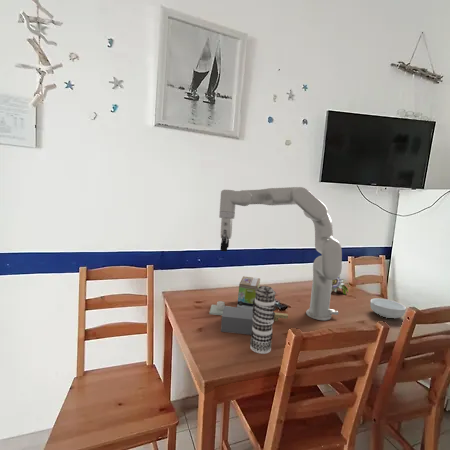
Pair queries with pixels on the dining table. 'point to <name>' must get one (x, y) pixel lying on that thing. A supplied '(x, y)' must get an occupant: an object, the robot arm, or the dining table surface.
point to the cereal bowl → (387, 308)
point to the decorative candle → (263, 320)
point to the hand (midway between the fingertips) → (224, 249)
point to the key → (280, 316)
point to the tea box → (247, 292)
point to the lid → (217, 308)
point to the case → (237, 320)
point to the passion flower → (339, 285)
